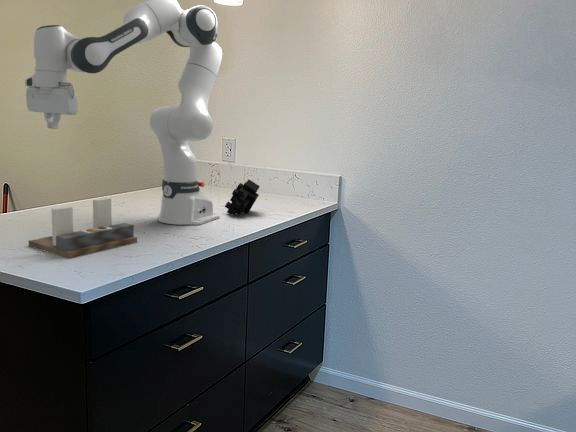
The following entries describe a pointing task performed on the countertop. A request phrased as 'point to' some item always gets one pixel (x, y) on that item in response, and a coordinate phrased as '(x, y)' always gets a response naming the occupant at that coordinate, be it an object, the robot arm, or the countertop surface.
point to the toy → (243, 198)
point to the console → (88, 240)
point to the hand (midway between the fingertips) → (52, 128)
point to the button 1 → (61, 222)
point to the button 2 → (101, 212)
